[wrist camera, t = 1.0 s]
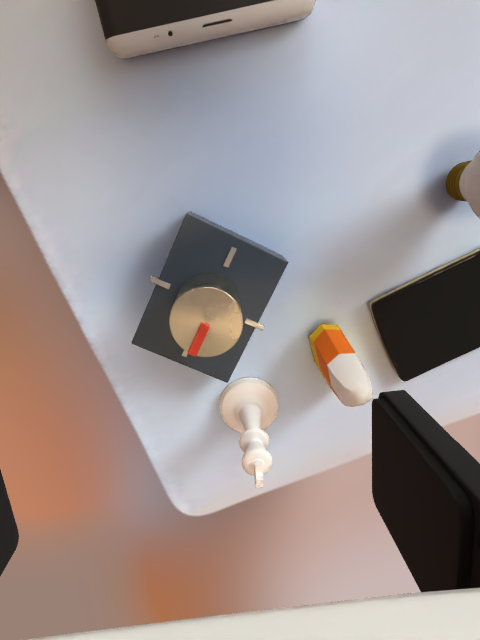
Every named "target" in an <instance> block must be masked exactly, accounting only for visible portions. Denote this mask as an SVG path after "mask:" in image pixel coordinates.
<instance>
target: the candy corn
mask: <svg viewBox="0 0 480 640" xmlns="http://www.w3.org/2000/svg"><path fill="white" fill-rule="evenodd" d="M309 340H310V344H311V349H312V353H313V357H314V361H315V363H316V365H317V366H318V368H319V370H320V371H321V373H322V375H323V376H324V378H325V380H326V381H327V383H328V385H329V386H330V388H331V389H332V391H333V392H334V393H335V395H336V396H337V397H338V398H339V400H340V401H341V402H342V403H343V404H344V405H345V406H350V407H354V406H360V405H364V404H365V403H367V402H368V401H370V400H371V399H373V395H372V386H371V380H370V377H369V375H368V373H367V372H366V370H365V368H364V367H363V365H362V363H361V362H360V360H359V358H358V356H357V355H356V353H355V352H354V350H353V348H352V347H351V345H350V344H349V342H348V341H347V339H346V338H345V336H344V334H343V333H342V331H341V330H340V328H339V327H338V325H329V324H321V325H320V326H319V327H318V328H317V329H316V330H315V331H314V332H313V333H312V334H311V335H310V336H309Z"/></svg>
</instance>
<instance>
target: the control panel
mask: <svg viewBox="0 0 480 640" xmlns="http://www.w3.org/2000/svg"><path fill="white" fill-rule="evenodd" d="M287 264H288V261H287V260H286V259H285V258H284V257H283V256H282V255H280V254H278V253H276V252H274V251H272V250H270V249H267V248H265V247H263V246H261V245H259V244H257V243H255V242H253V241H251V240H249V239H246V238H244V237H242V236H240V235H238V234H236V233H234V232H232V231H230V230H228V229H226V228H223V227H221V226H219V225H217V224H215V223H213V222H211V221H209V220H207V219H205V218H203V217H200V216H198V215H196V214H194V213H192V212H189V213H187V214H186V216H185V218H184V220H183V223H182V225H181V228H180V230H179V232H178V235H177V237H176V239H175V242H174V244H173V246H172V249H171V251H170V253H169V256H168V258H167V260H166V263H165V265H164V267H163V270H162V272H161V275H160V277H159V279H158V278H155V277H153V276H151V278H150V281H151V282H153V283H155V284H156V286H155V289H154V291H153V293H152V296H151V298H150V300H149V303H148V305H147V307H146V310H145V312H144V314H143V317H142V319H141V322H140V324H139V326H138V329H137V331H136V333H135V336H134V338H133V340H132V344H134V345H137V346H139V347H142V348H144V349H146V350H149V351H151V352H154V353H156V354H159V355H161V356H163V357H166V358H168V359H171V360H173V361H176V362H178V363H180V364H183V365H185V366H188V367H190V368H193V369H195V370H198V371H200V372H202V373H205V374H207V375H210V376H212V377H215V378H217V379H219V380H222V381H224V382H228V381H229V379H230V377H231V375H232V373H233V371H234V369H235V367H236V365H237V363H238V361H239V359H240V357H241V355H242V353H243V351H244V349H245V347H246V345H247V343H248V341H249V339H250V337H251V335H252V333H253V331H254V329H255V328H257V329H260V330H263V328H264V325H261V324H259V323H258V321H259V319H260V317H261V315H262V313H263V311H264V309H265V307H266V306H267V304H268V302H269V300H270V298H271V296H272V294H273V292H274V290H275V288H276V286H277V284H278V282H279V280H280V278H281V276H282V274H283V272H284V270H285V268H286V266H287ZM202 273H214V274H218V275H221V276H223V277H225V278H226V279H227V280H229V281H230V282H231V283H232V284H233V285H234V287H235V288H236V290H237V293H238V295H239V300H240V305H241V311H242V317H243V328H242V332H241V335H240V337H239V339H238V341H237V342H236V343H235V345H234V346H233V347H232V348H230V349H229V350H228V351H226V352H224V353H223V354H220V355H217V356H213V357H200V356H196V357H194V356H192V355H189V354H188V352H187V351H185V350H184V349H182V348H181V347H180V346H179V345H178V344H177V343H176V341H175V340H174V338H173V336H172V334H171V331H170V326H169V318H170V312H171V310H172V307H173V305H174V302H175V300H176V297H177V295H178V292H179V290H180V288H181V287H182V285H183V284H184V283H185V282H186V281H187V280H188V279H190V278H191V277H193V276H195V275H198V274H202Z"/></svg>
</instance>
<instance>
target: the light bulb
mask: <svg viewBox="0 0 480 640" xmlns="http://www.w3.org/2000/svg"><path fill="white" fill-rule="evenodd" d="M446 189H447V192H448V194H449V195H450V196H451V197H452V198H454V199H456V200H460V201H467V202H468V203H469V205H470V207H471V208H472V210H473V212H474V213H475V214H476V215H477V216H478V217H479V218H480V151H479V152H478V153H477V155H476V156H475V158H474V159H473V160H471V161H467V162H462V163H459V164H458V165H456V166H455V167H453V168H452V170H451V171H450V172H449V174H448V176H447V179H446Z"/></svg>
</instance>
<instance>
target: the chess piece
mask: <svg viewBox="0 0 480 640" xmlns="http://www.w3.org/2000/svg"><path fill="white" fill-rule="evenodd" d="M219 407H220V412H221V415H222V418H223V420H224V421H225V423H226V424H227V425H228V426H229V427H230V428H232V429H234V430H236V431H238V432H241V433H243V434H242V435H241V437H240V439H239V445H240V447H241V449H242V451H243V452H244V455H243V458H242V467H243V469H244V470H245V471H246V472H247V473H248V474H250V475H254V476H255V488H262V486H263V474H265V473H266V472H268V471H269V470H270V468H271V466H272V457H271V455H270V454H269V452H268V451H267V450H266V449H267V448H268V445H269V437H268V435H267V434H266V433H265V432H264V431H263V429H265V428H267V427H268V426H269V425H270V424H271V423H272V422H273V421H274V419H275V417H276V415H277V412H278V397H277V394H276V392H275V390H274V389H273V388H272V386H271V385H269V384H268V383H267V382H265V381H263V380H261V379H258V378H252V377H248V378H241V379H238V380H236V381H234V382H232V383H231V384H230V385H228V386H227V387H226V388H225V390H224V391H223V393H222V395H221V398H220V403H219Z"/></svg>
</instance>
